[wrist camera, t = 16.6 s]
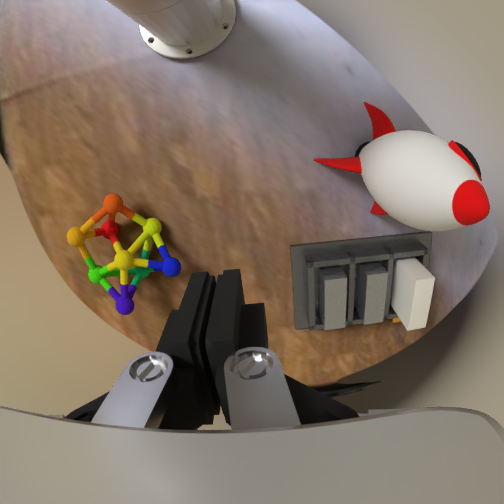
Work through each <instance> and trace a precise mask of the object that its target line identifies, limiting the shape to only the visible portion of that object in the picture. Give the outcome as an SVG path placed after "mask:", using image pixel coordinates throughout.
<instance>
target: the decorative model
mask: <svg viewBox="0 0 504 504" xmlns="http://www.w3.org/2000/svg"><path fill="white" fill-rule="evenodd" d="M103 204H104V207H103V208H102V209H100V210H99V211H98V212H97V213H96V214H95V215H94V216H93V217H91V218H90V219H89V220H88V221H87V222H86V223H85V224H84V225H83V226H82V227H81V228H80V227H73V228H71V229H70V230H69V231H68V233H67V240H68V242H69V243H70V244H71V245H72V246H74V247H78V249H79V250H80V252H81V254H82V256H83V258H84V259H85V261H86V263H87V265H88V266H89V268H90V270H89V274H88V275H89V279H90V280H91V281H92V282H93V283H95V284H101V285H102V286H103V287H104V288H105V289H106V290H107V292H108V293H109V294H110V295H111V296H112V297H113V298H114V299H115V300H116V309H117V311H118V312H119V313H121V314H123V315H128V314H130V313H131V312H132V311H133V309H134V302H133V300H132V298H133V295H134V293H135V291H136V289H137V287H138V285H139V282H140V280H141V278H145V277H147V276H148V275H149V274H150V272H161V271H163V273H164V274H165V275H166V276H169V277H174V276H177V275H178V274H179V273H180V270H181V264H180V262H179V260H178V259H176V258H174V257H170V255H169V253H168V251H167V248H166V246H165V244H164V242H163V240H162V238H161V236H160V232H161V229H162V226H161V223H160V221H159V220H157V219H156V218H149V219H147V220H146V219H145V218H143V217H142V216H140V215H138V214H137V213H135V212H134V211H132V210H130V209H129V208H127V207H125V206H124V205H123V200H122V198H121V197H120V196H119V195H118V194H115V193H112V194H109V195H108V196H106V198H105V199H104V203H103ZM118 212H120V213H122V214H123V215H125V216H127V217H128V218H130V219H132V220H133V221H135V222H137V223H138V224H140V225H142V226H143V231H144V232H143V233H142V234H141V235H140V236H139V237H138V239H137V240H136V241H135V242H134V243H133V244H132V246H131V247H130V248H129V249H128V250H123V248H122V246H121V244H120V242H119V240H118V238H117V235H118V232H119V227H118V225H117V224H116V223H115V215H116V213H118ZM106 214H108V220H107V222H105V223H104V224H103V225H102V228H98V229H93V230H90V229H91V228H92V227H93V226H94V225H95V224H96V223H97V222H98V221H100V220H101V219H102V218H103V217H104V216H105V215H106ZM101 235H103V236H104V237H105V238H106V239H110V240H111V242H112V244H113V246H114V249H115V251H116V253H117V254H116V255H115V259H114V261H113V262H112V263H110V264H108V265H106V266H104V267H102V266H99V265H96V264H95V263H94V261H93V259H92V257H91V255H90V254H89V252H88V250H87V248H86V246H85V244H84V241H85V239H86V238H91V237H96V236H101ZM153 239H154V241H155V243H156V245H157V247H158V249H159V252H160V254H161V256H162V258H163V260H164V261H163V262H161V261H154V260H148V257H149V253H150V249H151V245H152V241H153ZM144 242H145V243H144ZM143 243H144V247H143V251H142V255H141V259H140V258H134V257H133V255H134V254H135V253H136V252H137V250H138V249H139V248H140V247H141V246H142V244H143ZM128 274H135V276H134V278H133V280H132V283H131V285H130V287H129V289H128ZM119 275H120V281H121V295H120V294H119V293H118V292H117V291H116V290H115V289H114V287H113V286H112V285H111V284H110V283H109V282H108V281H107V280H106V279H105V278H106V277H111V276H119Z"/></svg>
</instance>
